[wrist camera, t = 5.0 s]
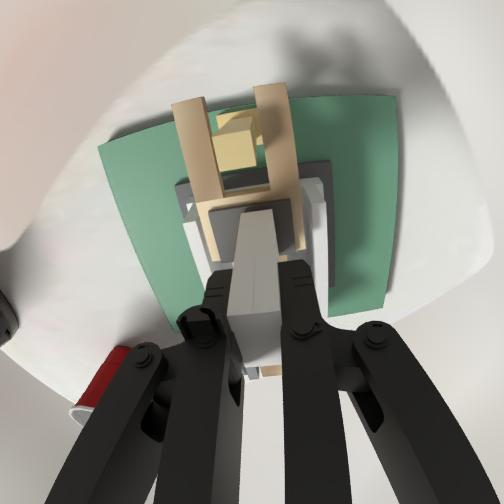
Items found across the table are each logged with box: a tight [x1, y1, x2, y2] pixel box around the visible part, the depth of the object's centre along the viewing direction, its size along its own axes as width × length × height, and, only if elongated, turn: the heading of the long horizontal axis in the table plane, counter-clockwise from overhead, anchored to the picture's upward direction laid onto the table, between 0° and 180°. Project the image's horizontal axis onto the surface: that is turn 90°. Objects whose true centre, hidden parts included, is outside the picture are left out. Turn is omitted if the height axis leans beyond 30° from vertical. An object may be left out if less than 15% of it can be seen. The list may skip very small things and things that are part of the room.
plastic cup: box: [69, 346, 131, 427], centre depth 29 cm, size 11×11×12 cm
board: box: [98, 95, 398, 380], centre depth 19 cm, size 22×20×9 cm
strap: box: [171, 83, 306, 377], centre depth 16 cm, size 5×20×1 cm, turn 10°
